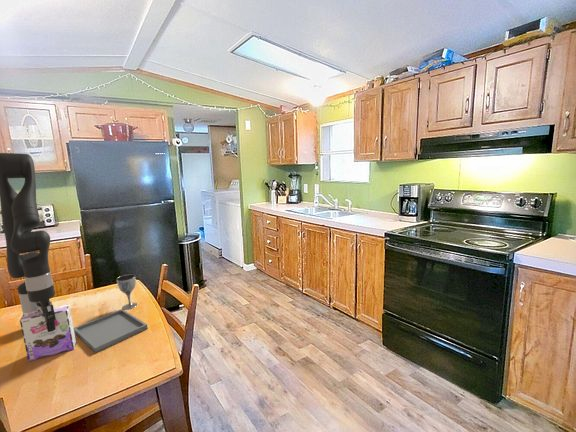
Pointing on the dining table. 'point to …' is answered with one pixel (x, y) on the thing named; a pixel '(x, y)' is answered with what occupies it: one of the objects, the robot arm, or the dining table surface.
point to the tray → (109, 330)
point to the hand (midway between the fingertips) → (48, 327)
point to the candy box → (48, 333)
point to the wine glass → (127, 288)
